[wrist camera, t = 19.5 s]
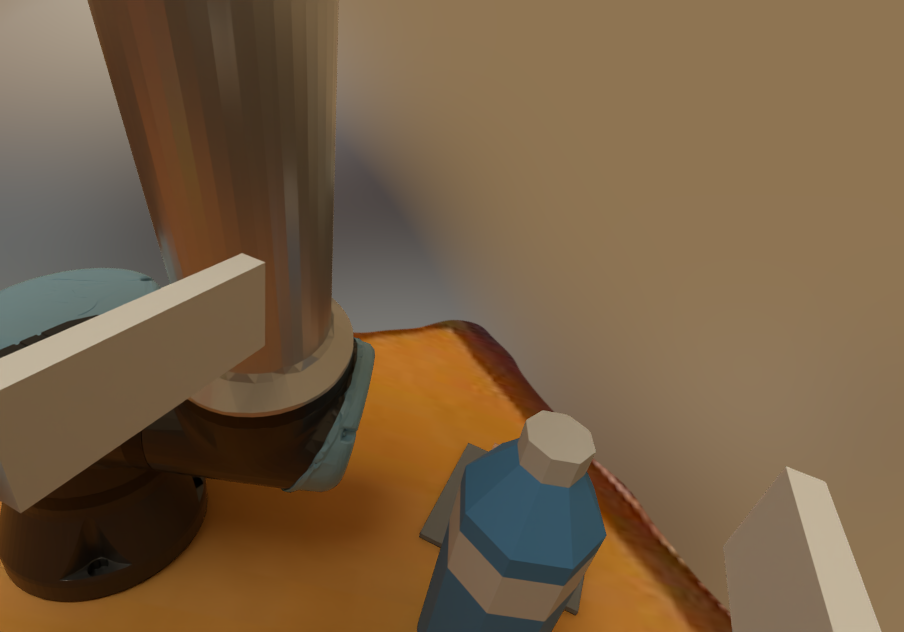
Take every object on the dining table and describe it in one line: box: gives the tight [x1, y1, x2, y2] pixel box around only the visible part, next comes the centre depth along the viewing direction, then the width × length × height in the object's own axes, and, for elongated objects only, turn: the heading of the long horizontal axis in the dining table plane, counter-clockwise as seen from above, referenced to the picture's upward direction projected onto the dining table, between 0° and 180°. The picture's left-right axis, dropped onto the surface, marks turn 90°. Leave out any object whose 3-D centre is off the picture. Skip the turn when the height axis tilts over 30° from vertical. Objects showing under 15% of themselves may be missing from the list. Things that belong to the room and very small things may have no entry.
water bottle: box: [417, 410, 606, 632], centre depth 34 cm, size 9×9×25 cm
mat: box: [419, 443, 584, 615], centre depth 53 cm, size 16×14×1 cm
